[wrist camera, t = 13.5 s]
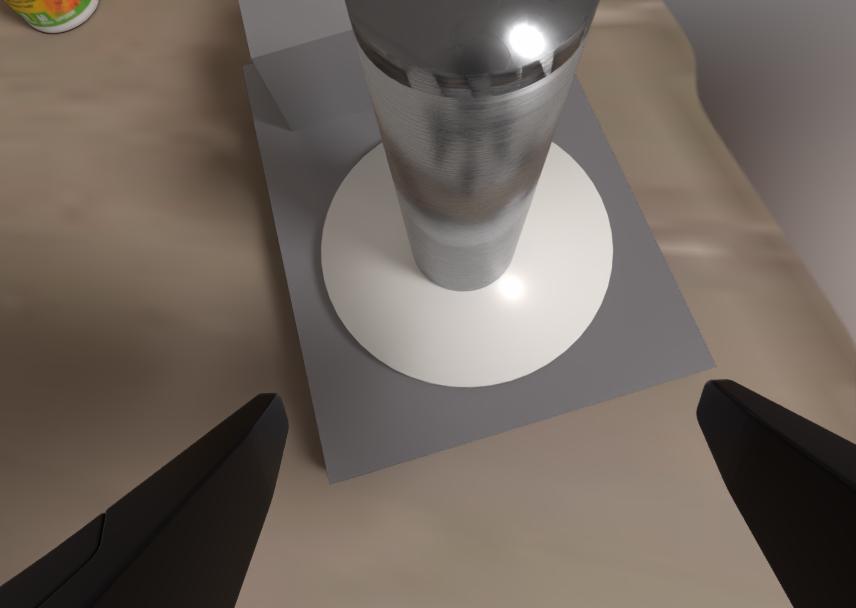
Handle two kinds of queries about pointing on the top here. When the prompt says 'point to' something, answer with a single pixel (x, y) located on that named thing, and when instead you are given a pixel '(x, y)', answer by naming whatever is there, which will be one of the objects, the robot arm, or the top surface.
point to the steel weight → (467, 118)
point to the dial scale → (429, 303)
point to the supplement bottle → (54, 13)
